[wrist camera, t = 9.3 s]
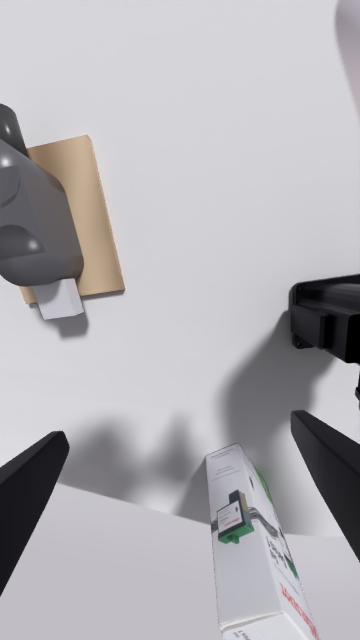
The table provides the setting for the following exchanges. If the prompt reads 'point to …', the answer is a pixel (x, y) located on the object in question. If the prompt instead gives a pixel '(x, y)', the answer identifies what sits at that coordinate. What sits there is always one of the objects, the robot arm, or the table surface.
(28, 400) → the table surface
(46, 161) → the light brown wooden board
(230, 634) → the ink box
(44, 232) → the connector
